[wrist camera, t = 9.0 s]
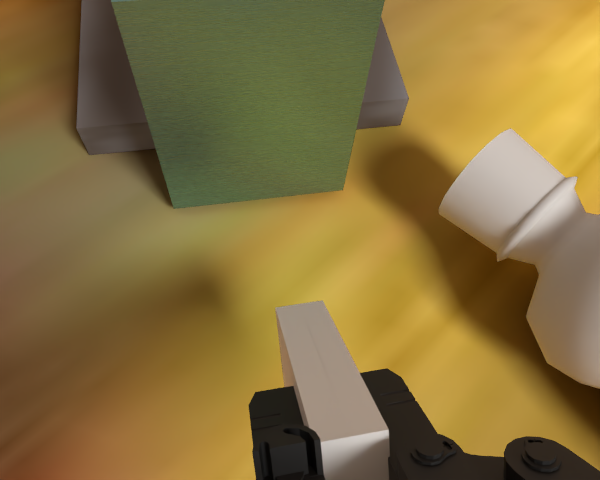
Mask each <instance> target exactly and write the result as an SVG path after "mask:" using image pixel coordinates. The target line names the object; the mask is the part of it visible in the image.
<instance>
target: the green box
mask: <svg viewBox="0 0 600 480" xmlns="http://www.w3.org/2000/svg"><path fill="white" fill-rule="evenodd" d="M384 1H385V0H111V3H112V6H113V10H114V13H115V16H116V20H117V23H118V26H119V30H120V33H121V36H122V39H123V43H124V46H125V49H126V53H127V56H128V59H129V62H130V66H131V69H132V72H133V76H134V79H135V82H136V86H137V89H138V92H139V95H140V99H141V102H142V105H143V109H144V112H145V115H146V119H147V122H148V125H149V128H150V132H151V135H152V138H153V142H154V145H155V148H156V152H157V155H158V158H159V161H160V165H161V168H162V171H163V175H164V178H165V181H166V184H167V188H168V191H169V194H170V198H171V201H172V204H173V208H174V209H175V208H185V207H194V206H203V205H212V204H221V203H230V202H239V201H248V200H257V199H266V198H275V197H284V196H293V195H302V194H311V193H320V192H329V191H338V190H343V187H344V183H345V178H346V173H347V169H348V164H349V160H350V155H351V151H352V146H353V142H354V137H355V132H356V128H357V123H358V119H359V114H360V110H361V105H362V101H363V96H364V92H365V87H366V82H367V78H368V73H369V69H370V64H371V60H372V55H373V51H374V46H375V41H376V37H377V32H378V28H379V23H380V19H381V14H382V10H383V5H384Z"/></svg>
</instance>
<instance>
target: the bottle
mask: <svg viewBox="0 0 600 480" xmlns="http://www.w3.org/2000/svg"><path fill="white" fill-rule="evenodd" d="M576 181H577V177H569V178H565V177H564V176H563V175H562V174H561V173H560V172H559V171H558V170H557V169H555V168H554V167H553V166H552V165H551V164H550V163H549V162H548V161H547V160H546V159H544V158H543V157H542V156H541V155H540V154H539V153H538V152H537V151H536V150H534V149H533V148H532V147H531V146H530V145H529V144H528V143H527V142H526V141H525V140H523V139H522V138H521V137H520V136H519V135H518V134H517V133H516V132H515V131H513V130H512V129H511V128H510V129H508V130H506V131H504V132H502V133H500V134H499V135H498V136H497V137H496V138H494V139H493V140H492V141H491V142H489V143H488V144H487V145H486V146H485V147H484V148H483V149H482V150H481V151H480V152H479V153H478V154H477V155H476V156H475V157H474V158H473V159H472V160H471V161H470V163H469V164H468V165H467V166H466V167H465V169H464V170H463V171H462V172H461V174H460V175H459V176H458V177H457V178H456V180H455V181H454V183H453V184H452V186H451V187H450V189H449V190H448V191H447V193H446V194H445V196H444V198H443V200H442V202H441V204H440V206H439V215H441V216H442V217H444V218H445V219H447V220H448V221H450V222H451V223H453V224H454V225H456V226H457V227H459V228H460V229H462V230H463V231H465V232H466V233H468V234H469V235H471V236H472V237H474V238H475V239H476V240H478V241H479V242H481V243H482V244H484V245H485V246H487V247H488V248H490V249H491V250H493V251H494V252H496V253H497V262H499V261H501V260H504V259H506V258H510V259H514V260H518V261H522V262H525V263H529V264H533V265H535V267H536V269H537V271H538V274H539V277H538V280H537V283H536V286H535V289H534V292H533V296H532V299H531V302H530V305H529V308H528V311H527V314H526V319H527V321H528V323H529V325H530V327H531V329H532V332H533V334H534V336H535V338H536V340H537V342H538V345H539V347H540V349H541V351H542V353H543V355H544V358H545V360H546V362H547V363H548V364H550V365H551V366H553V367H554V368H556V369H558V370H559V371H561V372H563V373H564V374H566V375H568V376H569V377H571V378H572V379H574V380H576V381H577V382H579V383H581V384H585V385H588V386H591V387H595V388H598V389H600V214H599V215H596V214H590V213H586V212H585V210H584V208H583V206H582V204H581V202H580V200H579V198H578V196H577V194H576V192H575V189H574V187H575V184H576Z"/></svg>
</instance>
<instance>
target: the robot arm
mask: <svg viewBox="0 0 600 480" xmlns="http://www.w3.org/2000/svg"><path fill="white" fill-rule="evenodd" d="M275 309H276V318H277V326H278V335H279V344H280V353H281V361H282V370H283V379H284V386H285V387H283V388H277V389H272V390H266V391H260V392H255V394H254V396H253V398H252V400H251V402H250V404H249V412H250V420H251V430H252V438H253V451H252V452H253V459H254V466H255V473H256V480H600V471H599V470H597V469H596V468H594V467H593V466H592V465H590V464H589V463H587V462H586V461H584V460H583V459H582V458H580V457H579V456H577V455H576V454H575V453H573V452H572V451H570V450H569V449H567V448H566V447H564V446H562V445H560V444H559V443H557V442H555V441H552V440H549V439H545V438H541V437H527V436H526V437H522V438H517V439H514V440H513V441H512V442H510V443H509V444H507V446H506V449H505V451H504V457H493V456H478V455H470V454H467V453H464V452H463V451H462V449H461V448H460V447H459V446H458V445H457V444H456V443H455V442H454V441H453V440H451V439H449V438H447V437H445V436H443V435H440V434H437V432H436V430H435V429H434V427H433V426H432V424H431V423H430V421H429V420H428V418H427V417H426V415H425V413H424V412H423V410H422V409H421V407H420V406H419V404H418V403H417V401H415V398H414V396H413V395H412V393H411V392H409V389H408V387H407V386H406V384H405V383H404V381H403V379H402V378H401V377H400V376H398V375H397V374H395V373H393V372H392V371H390V370H389V369H381V370H375V371H369V372H363V373H359V371H358V369H357V367H356V365H355V363H354V361H353V359H352V357H351V355H350V353H349V351H348V349H347V347H346V345H345V343H344V341H343V340H342V338H341V336H340V334H339V332H338V330H337V328H336V326H335V324H334V322H333V320H332V318H331V316H330V314H329V312H328V310H327V308H326V306H325V304H324V302H323V301H316V302H310V303H303V304H296V305H290V306H283V307H277V308H275Z"/></svg>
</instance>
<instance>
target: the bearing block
mask: <svg viewBox="0 0 600 480" xmlns="http://www.w3.org/2000/svg"><path fill="white" fill-rule="evenodd" d="M408 100H409V97H408V94H407V91H406V89H405V86H404V83H403V80H402V77H401V74H400V71H399V68H398V65H397V62H396V59H395V56H394V53H393V50H392V48H391V45H390V42H389V39H388V36H387V33H386V30H385V27H384V24H383V21H382V18H381V19H380V23H379V28H378V32H377V37H376V41H375V46H374V51H373V55H372V60H371V64H370V69H369V73H368V78H367V82H366V87H365V92H364V96H363V101H362V105H361V110H360V114H359V119H358V123H357V128H356V129H364V128H374V127H384V126H395V125H400V124H401V121H402V118H403V115H404V112H405V109H406V106H407V103H408ZM76 129H77V131H78V133H79V135H80V137H81V139H82V141H83V143H84V145H85V147H86V149H87V151H88V153H89V155H94V154H105V153H115V152H126V151H136V150H146V149H156V148H155V145H154V142H153V138H152V135H151V132H150V128H149V125H148V122H147V119H146V115H145V112H144V109H143V105H142V102H141V99H140V95H139V92H138V89H137V86H136V82H135V79H134V76H133V72H132V69H131V66H130V62H129V59H128V56H127V53H126V49H125V46H124V43H123V39H122V36H121V33H120V30H119V26H118V23H117V20H116V16H115V13H114V10H113V6H112V3H111V0H82V5H81V29H80V53H79V78H78V102H77V126H76Z"/></svg>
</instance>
